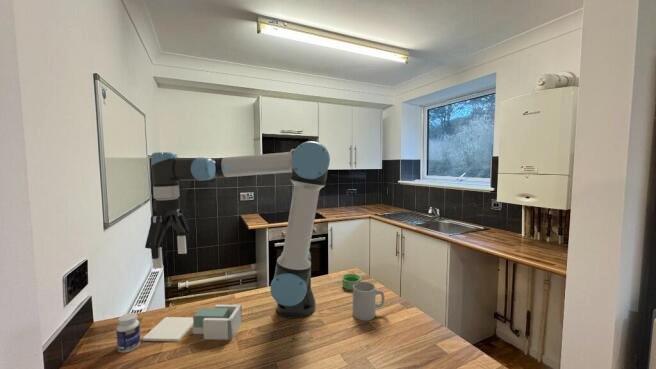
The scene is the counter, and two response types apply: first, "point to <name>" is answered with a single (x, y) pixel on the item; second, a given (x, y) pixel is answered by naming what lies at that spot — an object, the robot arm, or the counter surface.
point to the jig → (221, 324)
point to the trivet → (170, 329)
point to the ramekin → (350, 280)
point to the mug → (365, 300)
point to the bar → (209, 315)
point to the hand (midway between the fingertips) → (171, 260)
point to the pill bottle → (128, 333)
